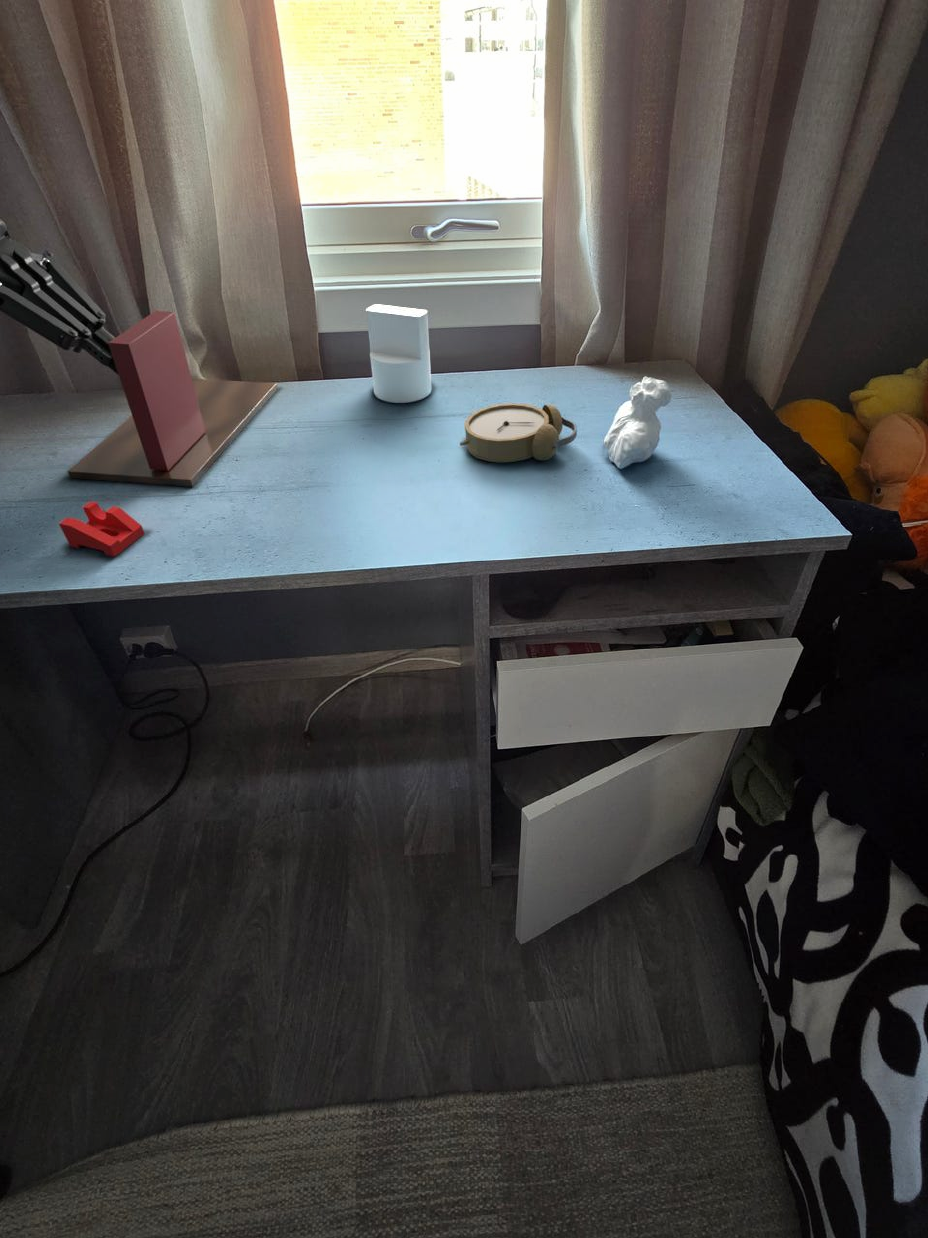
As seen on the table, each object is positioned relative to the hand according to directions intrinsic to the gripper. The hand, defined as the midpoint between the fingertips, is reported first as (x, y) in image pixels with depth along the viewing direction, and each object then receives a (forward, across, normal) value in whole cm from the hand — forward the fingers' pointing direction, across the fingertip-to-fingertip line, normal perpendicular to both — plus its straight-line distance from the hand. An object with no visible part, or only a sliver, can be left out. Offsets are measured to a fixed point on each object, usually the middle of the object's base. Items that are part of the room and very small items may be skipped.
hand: (140, 376), depth 86 cm
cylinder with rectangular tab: (+27, +24, -12) cm, 38 cm away
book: (+8, 0, +5) cm, 10 cm away
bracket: (+9, -20, +6) cm, 23 cm away
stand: (+7, +8, +8) cm, 13 cm away
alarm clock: (+41, +8, -26) cm, 49 cm away
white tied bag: (+51, +7, -37) cm, 63 cm away
